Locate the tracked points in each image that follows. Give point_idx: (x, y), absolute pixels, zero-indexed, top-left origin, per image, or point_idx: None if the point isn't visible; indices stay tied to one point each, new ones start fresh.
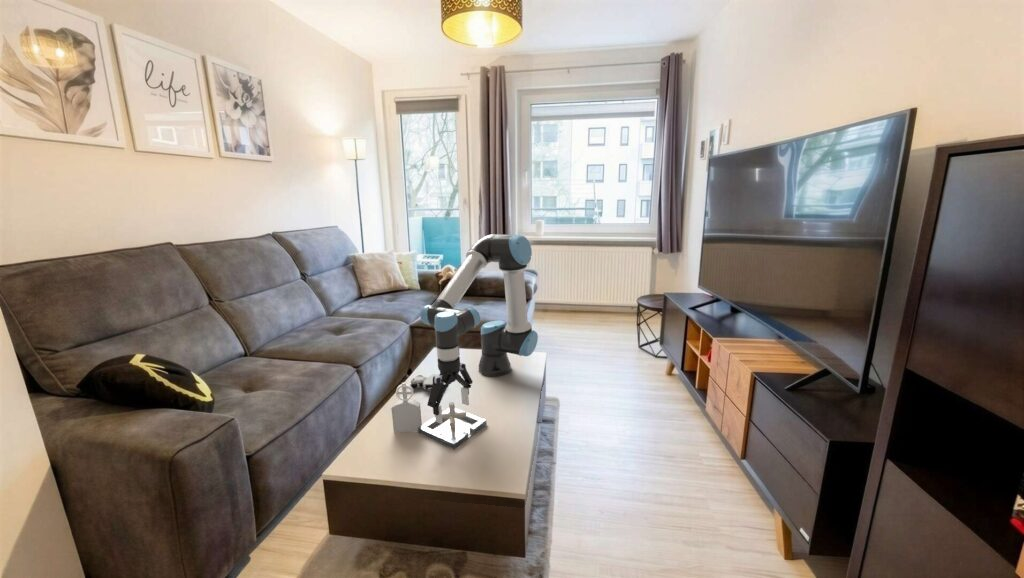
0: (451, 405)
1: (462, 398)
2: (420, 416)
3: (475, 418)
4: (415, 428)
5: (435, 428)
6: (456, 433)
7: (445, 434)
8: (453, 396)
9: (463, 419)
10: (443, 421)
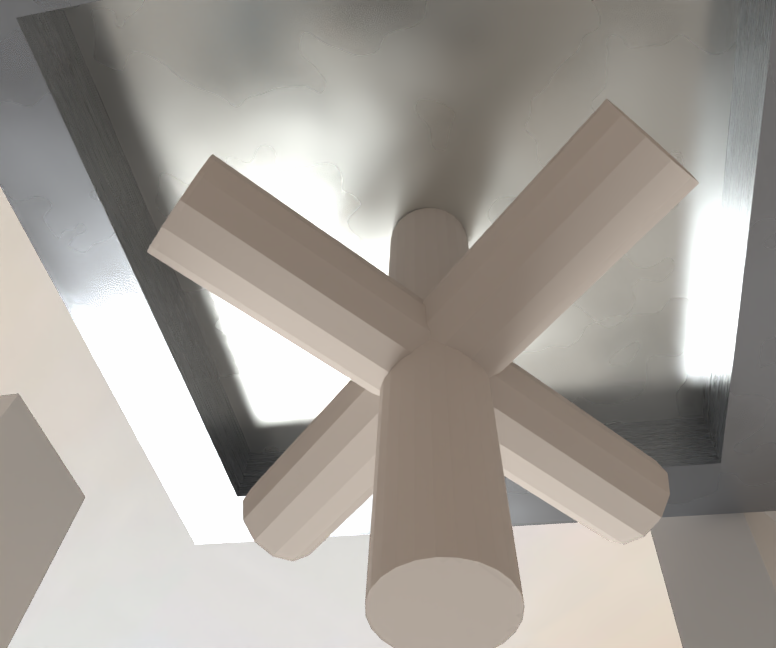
0: (499, 565)
1: (22, 580)
2: (719, 634)
3: (36, 121)
4: (760, 520)
5: (590, 385)
6: (492, 85)
7: None
8: (68, 626)
9: (191, 287)
10: None
